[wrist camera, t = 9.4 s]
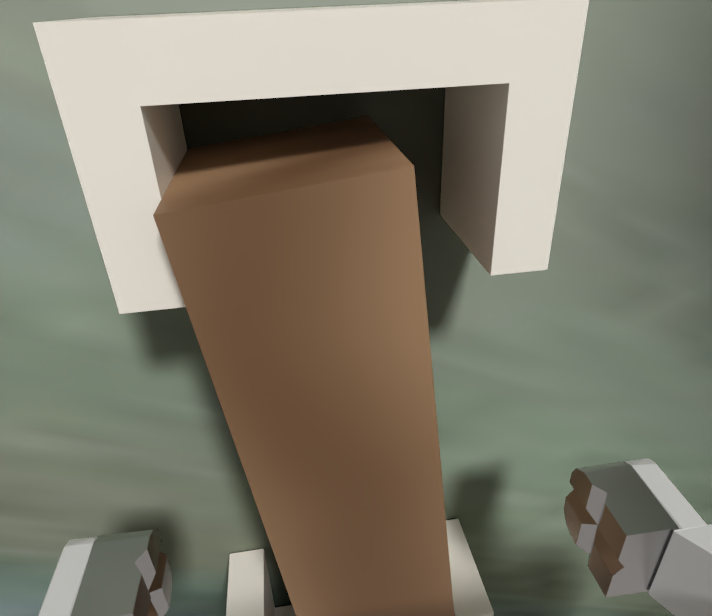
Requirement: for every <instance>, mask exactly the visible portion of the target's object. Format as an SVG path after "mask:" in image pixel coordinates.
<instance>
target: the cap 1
mask: <svg viewBox="0 0 712 616" xmlns="http://www.w3.org/2000/svg"><path fill="white" fill-rule="evenodd" d="M588 4H589V0H469V1H447V2H424V3H402V4H380V5H357V6H335V7H312V8H290V9H268V10H245V11H223V12H201V13H178V14H156V15H133V16H111V17H94V18H82V19H70V20H59V21H47V22H35V23H33V25H34V29H35V32H36V35H37V39H38V42H39V45H40V49H41V52H42V55H43V59H44V62H45V65H46V69H47V72H48V75H49V79H50V82H51V86H52V89H53V92H54V96H55V99H56V102H57V106H58V109H59V112H60V116H61V119H62V122H63V126H64V129H65V132H66V136H67V139H68V142H69V146H70V149H71V152H72V156H73V159H74V163H75V166H76V169H77V173H78V176H79V179H80V183H81V186H82V189H83V193H84V196H85V199H86V203H87V206H88V209H89V213H90V216H91V219H92V223H93V226H94V229H95V233H96V236H97V240H98V243H99V246H100V250H101V253H102V256H103V260H104V263H105V266H106V270H107V273H108V276H109V280H110V283H111V286H112V290H113V293H114V296H115V300H116V303H117V306H118V310H119V313H120V314H123V313H133V312H143V311H152V310H162V309H172V308H181V307H186V306H185V303H184V301H183V298H182V295H181V292H180V289H179V287H178V284H177V281H176V278H175V275H174V273H173V270H172V267H171V264H170V261H169V259H168V256H167V253H166V250H165V247H164V245H163V242H162V239H161V236H160V233H159V231H158V228H157V225H156V222H155V219H154V217H153V214H154V212H155V210H156V209H157V207H158V205H159V203H160V201H161V199H162V197H163V195H164V193H165V191H166V190H167V188H168V186H169V184H170V182H171V180H172V178H173V176H174V174H175V172H176V170H177V169H178V167H179V165H180V163H181V161H182V159H183V157H184V155H185V153H186V151H187V146H186V141H185V135H184V130H183V125H182V120H181V115H180V109H179V104H185V103H201V102H217V101H233V100H249V99H265V98H281V97H297V96H313V95H328V94H344V93H360V92H376V91H392V90H408V89H424V88H440V87H445V110H444V134H443V157H442V181H441V204H440V215H441V217H442V218H443V219H444V220H445V221H446V222H447V224H448V225H449V226H450V227H451V228H452V230H453V231H454V232H455V233H456V234H457V236H458V237H459V238H460V239H461V240H462V242H463V243H464V244H465V245H466V246H467V248H468V249H469V250H470V251H471V252H472V254H473V255H474V256H475V257H476V258H477V260H478V261H479V262H480V263H481V264H482V266H483V267H484V268H485V269H486V270H487V272H488V273H489V274H490V275H500V274H510V273H519V272H529V271H539V270H547V268H548V262H549V255H550V249H551V242H552V236H553V230H554V223H555V217H556V210H557V204H558V197H559V191H560V185H561V178H562V172H563V165H564V159H565V152H566V146H567V139H568V133H569V127H570V120H571V114H572V107H573V101H574V94H575V88H576V82H577V75H578V69H579V62H580V56H581V49H582V43H583V37H584V30H585V24H586V17H587V11H588Z"/></svg>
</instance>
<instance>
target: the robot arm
mask: <svg viewBox="0 0 712 616" xmlns="http://www.w3.org/2000/svg"><path fill="white" fill-rule="evenodd" d="M570 483H571V485H572V486H573V488H574V490H573V491H572V492H571V493H570V494H569V495H568V496H567V497H566V500H565V506H564V513H565V520H566V524H567V527H568V529H569V532H570V534H571V536H572V538H573V540H574V542H575V544H576V545H577V546H579V547H580V548H582V549H583V550H584V551H586V552H587V553H589V560H588V567H589V569H590V570H591V572H592V574H593V576H594V577H595V579H596V581H597V583H598V584H599V586H600V588H601V590H602V591H603V593H604V595H605V597H612V596H619V595H626V594H634V593H641V592H648V591H649V593H648V594H649V595H650V596H651V597H652V598H654V599H655V600H656V601H657V602H659V603H660V604H661V605H662V606H664V607H665V608H666V609H667V610H668V611H670V612H671V613H672V614H673V615H675V616H712V524H709V525H707V524H706V523H705V522H704V520H703V519H702V518H701V517H700V516H699V514H698V513H697V512H696V511H695V510H694V508H693V507H692V506H691V505H690V504H689V502H688V501H687V500H686V499H685V498H684V497H683V495H682V494H681V493H680V492H679V491H678V489H677V488H676V487H675V486H674V485H673V483H672V482H671V481H670V480H669V479H668V477H667V476H666V475H665V474H664V473H663V472H662V470H661V469H660V468H659V467H658V466H657V464H656V463H655V462H654V461H652V460H650V459H649V458H646V459H639V460H632V461H625V462H614V463H608V464H602V465H595V466H589V467H583V468H576V469H575V470H574V471H573V472H572V475H571V479H570ZM161 543H162V540H161V537H160V535H159V532H158V530H157V529H153V530H144V531H135V532H127V533H118V534H109V535H101V536H93V537H86V538H78V539H70V540H69V542H68V543H67V544H66V546H65V547H64V548H63V550H62V553H61V556H60V558H59V561H58V564H57V566H56V569H55V572H54V574H53V577H52V580H51V582H50V585H49V588H48V590H47V593H46V596H45V598H44V601H43V604H42V606H41V609H40V612H39V614H38V616H164V615H165V613H166V612H167V611H168V609H169V606H170V599H171V584H172V575H171V568H170V563H169V560H168V557H167V555H165V554H163V553H162V552H160V548H161Z"/></svg>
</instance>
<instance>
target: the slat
mask: <svg viewBox="0 0 712 616" xmlns="http://www.w3.org/2000/svg"><path fill="white" fill-rule="evenodd" d="M153 217H154V219H155V222H156V225H157V228H158V231H159V233H160V236H161V239H162V242H163V245H164V247H165V250H166V253H167V256H168V259H169V261H170V264H171V267H172V270H173V273H174V275H175V278H176V281H177V284H178V287H179V289H180V292H181V295H182V298H183V301H184V303H185V306H186V309H187V312H188V315H189V317H190V320H191V323H192V326H193V329H194V331H195V334H196V337H197V340H198V343H199V345H200V348H201V351H202V354H203V357H204V359H205V362H206V365H207V368H208V371H209V373H210V376H211V379H212V382H213V385H214V387H215V390H216V393H217V396H218V399H219V401H220V404H221V407H222V410H223V413H224V415H225V418H226V421H227V424H228V427H229V429H230V432H231V435H232V438H233V441H234V443H235V446H236V449H237V452H238V455H239V457H240V460H241V463H242V466H243V469H244V471H245V474H246V477H247V480H248V483H249V485H250V488H251V491H252V494H253V497H254V499H255V502H256V505H257V508H258V511H259V513H260V516H261V519H262V522H263V525H264V527H265V530H266V533H267V536H268V539H269V541H270V544H271V547H272V550H273V553H274V555H275V558H276V561H277V564H278V567H279V569H280V572H281V575H282V578H283V581H284V583H285V586H286V589H287V592H288V595H289V597H290V600H291V603H292V606H293V609H294V611H295V614H296V616H454V605H453V594H452V583H451V572H450V561H449V550H448V538H447V527H446V516H445V505H444V494H443V483H442V472H441V460H440V449H439V438H438V427H437V416H436V405H435V393H434V382H433V371H432V360H431V349H430V338H429V327H428V315H427V304H426V293H425V282H424V271H423V260H422V248H421V237H420V226H419V215H418V204H417V193H416V182H415V170H414V165H413V164H412V163H411V162H410V161H409V160H408V159H407V158H406V157H405V156H404V155H403V153H402V152H401V151H400V150H399V149H398V148H397V147H396V146H395V145H394V144H393V143H392V142H391V140H390V139H389V138H388V137H387V136H386V135H385V134H384V133H383V132H382V131H381V130H380V129H379V127H378V126H377V125H376V124H375V123H374V122H373V121H372V120H371V119H370V118H369V117H368V116H365V117H360V118H354V119H349V120H343V121H338V122H332V123H327V124H321V125H316V126H310V127H305V128H299V129H294V130H288V131H283V132H277V133H272V134H266V135H261V136H255V137H250V138H244V139H239V140H233V141H228V142H222V143H217V144H211V145H206V146H200V147H195V148H190V149H187V151H186V153H185V155H184V157H183V159H182V161H181V163H180V165H179V167H178V169H177V170H176V172H175V174H174V176H173V178H172V180H171V182H170V184H169V186H168V188H167V190H166V191H165V193H164V195H163V197H162V199H161V201H160V203H159V205H158V207H157V209H156V210H155V212H154V214H153Z"/></svg>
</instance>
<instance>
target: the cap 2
mask: <svg viewBox="0 0 712 616" xmlns="http://www.w3.org/2000/svg"><path fill="white" fill-rule="evenodd" d="M446 527H447V538H448V550H449V561H450V572H451V583H452V594H453V605H454V616H494V612H493V609H492V607H491V604H490V601H489V599H488V596H487V593H486V591H485V588H484V585H483V583H482V580H481V577H480V575H479V572H478V570H477V567H476V564H475V562H474V559H473V556H472V554H471V551H470V548H469V546H468V543H467V540H466V538H465V535H464V532H463V530H462V527H461V525H460V522H459V519H452V520H446ZM226 616H296V614H295V611H294V609H293V606H292V605H288V606H282V607H276V608H275V605H274V599H273V594H272V589H271V584H270V579H269V573H268V568H267V563H266V558H265V552H264V549H258V550H252V551H245V552H239V553H232V554H230V558H229V575H228V591H227V608H226Z"/></svg>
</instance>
